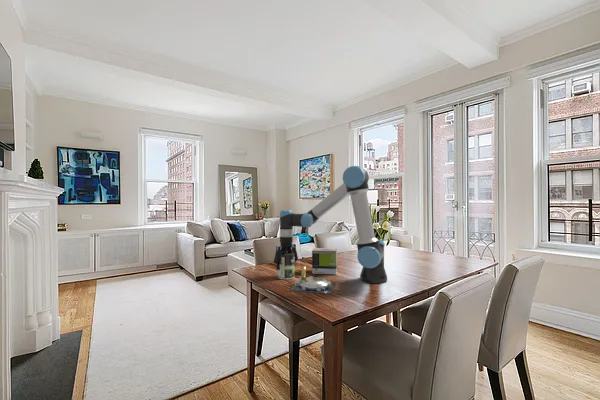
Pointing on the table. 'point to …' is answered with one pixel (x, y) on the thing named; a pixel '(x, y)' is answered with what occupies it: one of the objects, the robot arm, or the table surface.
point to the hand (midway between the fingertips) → (286, 273)
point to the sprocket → (313, 282)
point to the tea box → (324, 261)
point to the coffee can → (287, 266)
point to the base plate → (324, 291)
